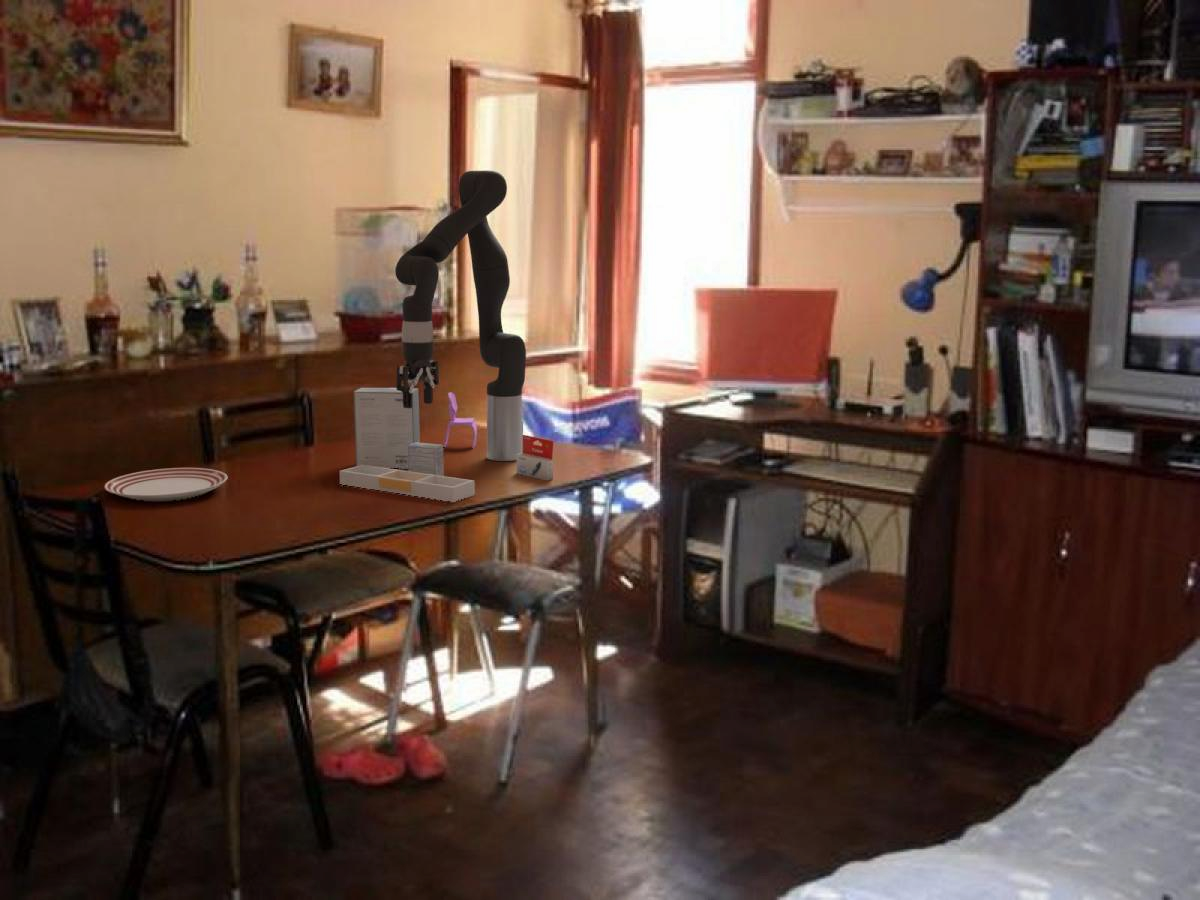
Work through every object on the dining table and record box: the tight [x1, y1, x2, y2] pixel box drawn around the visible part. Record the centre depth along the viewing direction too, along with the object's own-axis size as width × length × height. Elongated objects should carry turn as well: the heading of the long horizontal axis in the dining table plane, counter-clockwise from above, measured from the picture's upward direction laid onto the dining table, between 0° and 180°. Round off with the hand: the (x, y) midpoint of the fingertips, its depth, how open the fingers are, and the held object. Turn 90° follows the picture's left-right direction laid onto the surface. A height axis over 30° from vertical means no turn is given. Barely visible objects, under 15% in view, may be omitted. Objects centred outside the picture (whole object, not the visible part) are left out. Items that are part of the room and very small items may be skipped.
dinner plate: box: [104, 467, 229, 502], centre depth 313 cm, size 28×27×3 cm
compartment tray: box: [339, 465, 476, 503], centre depth 318 cm, size 9×33×4 cm, turn 61°
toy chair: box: [443, 391, 478, 449], centre depth 369 cm, size 8×9×15 cm
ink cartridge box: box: [516, 434, 554, 481], centre depth 334 cm, size 2×11×10 cm, turn 47°
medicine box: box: [407, 442, 445, 476], centre depth 329 cm, size 8×4×9 cm, turn 71°
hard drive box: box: [352, 387, 421, 470], centre depth 342 cm, size 16×8×20 cm, turn 84°
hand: (418, 405), depth 326 cm, fingers open, 8 cm apart
